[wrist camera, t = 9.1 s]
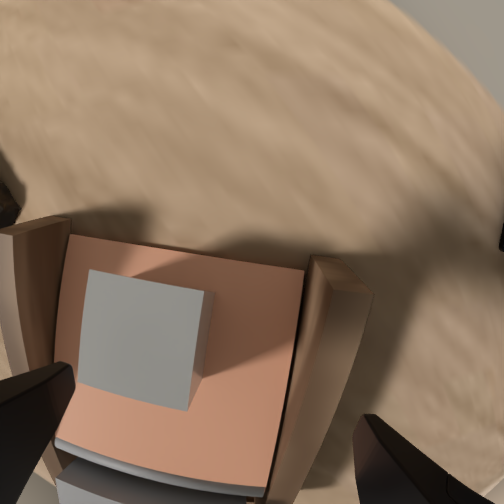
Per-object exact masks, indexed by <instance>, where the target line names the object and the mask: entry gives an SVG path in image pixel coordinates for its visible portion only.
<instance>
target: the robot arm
mask: <svg viewBox="0 0 504 504" xmlns="http://www.w3.org/2000/svg"><path fill="white" fill-rule="evenodd" d="M499 249H500V251H502V252H504V224H503V229H502V234H501V239H500V243H499ZM75 388H76V384H75V378H74V373H73V368H72V366H71V365H70V364H68V363H66V362H63V361H58V362H55V363H52V364H49V365H47V366H44V367H41V368H38V369H34V370H31V371H28V372H25V373H22V374H19V375H16V376H13V377H10V378H7V379H4V380H0V504H16V502H17V501H18V499H19V497H20V495H21V493H22V491H23V489H24V487H25V485H26V483H27V481H28V480H29V477H30V476H31V474H32V472H33V470H34V469H35V467H36V465H37V463H38V461H39V460H40V458H41V456H42V454H43V453H44V451H45V449H46V447H47V446H48V444H49V442H50V440H51V439H52V437H53V435H54V434H55V432H56V430H57V428H58V426H59V425H60V422H61V420H62V418H63V416H64V414H65V411H66V409H67V407H68V405H69V403H70V400H71V398H72V396H73V394H74V392H75ZM353 451H354V465H355V478H356V484H357V490H358V495H359V500H360V504H495V503H493V502H491V501H490V500H487V499H486V498H484V497H483V496H481V495H479V494H478V493H476V492H475V491H473V490H471V489H470V488H468V487H467V486H465V485H464V484H463V483H461V482H460V481H458V480H457V479H456V478H454V477H453V476H452V475H451V474H448V472H447V471H445V470H444V469H443V468H441V467H440V466H439V465H438V464H436V463H435V462H434V461H432V460H431V459H430V458H429V457H427V456H426V455H425V454H424V453H422V452H421V451H420V450H419V449H417V448H416V447H415V446H414V445H412V444H411V443H410V442H409V441H408V440H406V439H405V438H404V437H403V436H401V435H400V434H399V433H398V432H397V431H395V430H394V429H393V428H392V427H390V426H389V425H388V424H387V423H386V422H384V421H383V420H382V419H381V418H380V417H378V416H377V415H376V414H363V415H362V416H361V418H360V420H359V422H358V424H357V426H356V428H355V430H354V433H353Z"/></svg>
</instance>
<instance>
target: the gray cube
mask: <svg viewBox="0 0 504 504" xmlns="http://www.w3.org/2000/svg"><path fill="white" fill-rule="evenodd" d="M214 297H215V292H211V291H205V290H199V289H193V288H187V287H182V286H176V285H171V284H165V283H160V282H154V281H149V280H144V279H139V278H133V277H128V276H123V275H117V274H112V273H107V272H101V271H96V270H91V269H89V275H88V281H87V288H86V295H85V302H84V310H83V318H82V327H81V337H80V349H79V363H78V382H79V383H82V384H85V385H88V386H91V387H94V388H97V389H100V390H104V391H107V392H110V393H114V394H117V395H120V396H124V397H128V398H131V399H135V400H139V401H143V402H147V403H151V404H155V405H159V406H163V407H168V408H172V409H177V410H182V411H188V409H189V407H190V405H191V402H192V400H193V398H194V396H195V394H196V391H197V389H198V387H199V385H200V383H201V381H202V378H203V371H204V364H205V357H206V350H207V343H208V337H209V330H210V323H211V317H212V310H213V304H214Z"/></svg>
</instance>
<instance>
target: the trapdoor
mask: <svg viewBox="0 0 504 504" xmlns="http://www.w3.org/2000/svg"><path fill="white" fill-rule="evenodd" d="M89 269H91V270H96V271H101V272H107V273H112V274H117V275H123V276H128V277H133V278H139V279H144V280H149V281H154V282H160V283H165V284H171V285H176V286H182V287H187V288H193V289H199V290H205V291H211V292H215V297H214V304H213V310H212V317H211V323H210V330H209V337H208V343H207V350H206V357H205V364H204V371H203V378H202V381H201V383H200V385H199V387H198V389H197V391H196V394H195V396H194V398H193V400H192V402H191V405H190V407H189V409H188V411H182V410H177V409H172V408H168V407H163V406H159V405H155V404H151V403H147V402H143V401H139V400H135V399H131V398H128V397H124V396H120V395H117V394H114V393H110V392H107V391H104V390H100V389H97V388H94V387H91V386H88V385H85V384H82V383H79V382H78V363H79V349H80V337H81V327H82V318H83V310H84V302H85V295H86V288H87V281H88V275H89ZM303 278H304V271H303V270H297V269H290V268H283V267H277V266H270V265H263V264H257V263H250V262H243V261H237V260H230V259H224V258H217V257H211V256H204V255H198V254H192V253H185V252H179V251H172V250H166V249H160V248H154V247H147V246H141V245H135V244H129V243H123V242H116V241H110V240H104V239H98V238H92V237H86V236H80V235H74V234H70V236H69V241H68V246H67V252H66V257H65V263H64V269H63V275H62V282H61V289H60V297H59V305H58V314H57V324H56V337H55V353H54V363H55V362H58V361H63V362H66V363H68V364H70V365H71V366H72V368H73V373H74V378H75V384H76V388H75V392H74V394H73V396H72V398H71V400H70V403H69V405H68V407H67V409H66V411H65V414H64V416H63V418H62V420H61V422H60V425H59V426H58V428H57V430H56V432H55V446H56V447H57V448H59V449H61V450H64V451H66V452H68V453H71V454H73V455H76V456H78V457H77V458H76V459H75V460H74V461H73V462H72V463H71V464H69V465H68V466H67V467H66V468H65V469H64V470H63V471H62V472H61V473H60V474H59V475H58V476H57V477H56V478H55V479H56V485H57V491H58V497H59V502H60V504H246V496H251V497H263V495H264V492H265V489H266V485H267V481H268V476H269V472H270V467H271V463H272V458H273V453H274V449H275V444H276V439H277V434H278V429H279V424H280V419H281V414H282V409H283V403H284V398H285V393H286V387H287V382H288V376H289V370H290V364H291V358H292V352H293V346H294V340H295V334H296V327H297V321H298V314H299V307H300V300H301V293H302V286H303Z"/></svg>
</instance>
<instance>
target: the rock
mask: <svg viewBox="0 0 504 504" xmlns="http://www.w3.org/2000/svg"><path fill="white" fill-rule="evenodd" d="M19 210H21V208H20V207H19V205H18V204H17V203H16V201H15V200H14V198H13V197H12V195H11V193H10V191H9V190H8V189H7V187H6V186H5V185H4V183H0V229H1V228H5V227H9V226H12V225H13V223H15V219H16V217H17V215H18V211H19Z"/></svg>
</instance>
